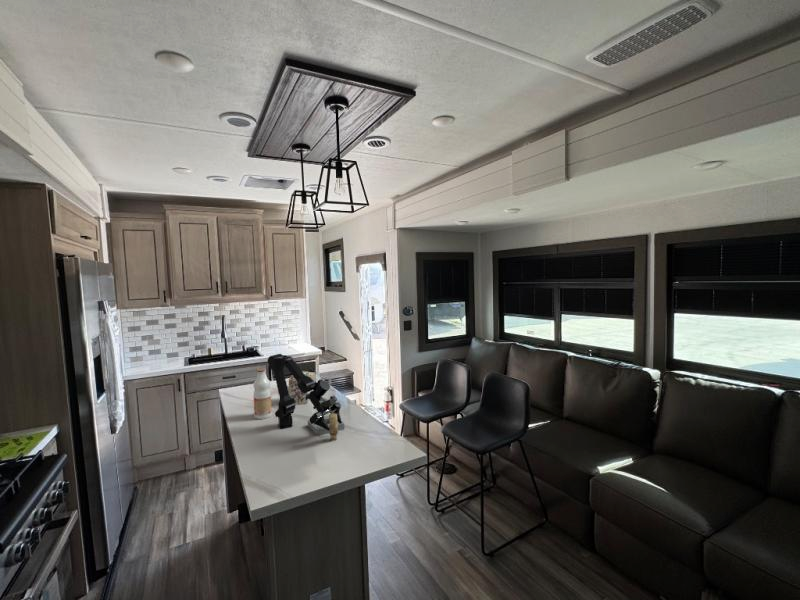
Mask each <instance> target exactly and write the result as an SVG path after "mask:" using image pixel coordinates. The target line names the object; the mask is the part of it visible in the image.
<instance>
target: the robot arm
mask: <svg viewBox="0 0 800 600" xmlns="http://www.w3.org/2000/svg"><path fill="white" fill-rule="evenodd" d="M267 364H268V367H269V369H270V370H271V371H272V372H273V374H274V379H275V382H276V388H277V392H278V397H279V398H278V399H279V400H278V402H277V406H278V407H277V409H276V411H275V412H274V415H275V418H278V424H277V426H278V428H279V429H280V430H283V429H287V428H291V427H293V426H294V425H293V423H294V422H293V416H292V415H293V414H294V412H295V409H296V406H297V405H296V404H295V401H294V398H291V397H290V396H289V387H288V384H287V380H286V377H285V372H284V368H286V369H287V370H288V372H289V373H290V375H291V376H292V375H293V377H294V378H295V379H296V381H297V385H298V387H299V389H300V391H301V392H302V393H307V392H308V394H306V400H308V401H310V403H311V404H312V405H313V407H312V409H313V410H316V411H317V412H314V413H313V414H312V415H311V416H310V417H309V420H310V423H311V424H313V423H314V425H315V424H316V425H318V426H320V427H322V428H324V429H326V430H328V431H329V430H330V428H329V426H328V425H327V423H326V422H325V420H324V417H325V416H327V414H328V415H329V414H332V413H335V414H337V421H338V422H339V423H340V424H341V423H342V422H343V421H342V418H341V415H340V413H341V412H340V409H341V407H342V404H341V403H340V402H337V401H338V399H337V397H336V396H335V395H331V396H329V399H327V398H323V397H324V395H325V394H326V393H327V392H328V391H329V390H330V387H331V384H330V383H329V382H328V381H326V380H323V379H322V378H321V379H318V380H317V381H316V382H314V381H313V380H312V379H311V378H310V377H308V376H306V375H305V374H304V373H303V372H302V371H303V370H302V369H301V368H300V366H298V364H297V363H296V362H295V360H294V359H293V356H291V355H286V354H282V353H277V354H273V355H270V356H269V357H268V358H267Z"/></svg>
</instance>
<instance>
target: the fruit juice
mask: <svg viewBox="0 0 800 600" xmlns="http://www.w3.org/2000/svg"><path fill="white" fill-rule="evenodd" d="M266 371H267V369H266V368H265V367H263V368H257V369H256V373H257V374H256V378H255V380H254V382H253V389H254V390H253V391H254V392H253V412H254V414H253V415H254V418H255V419H256V418H257V419H256V420H265V419H264V418H266V419H268V417H269V418H270V417H271V416H272V415H273V414H272V411H273V410H272V392H271V389H270V388H271V387H270V386H271V381H270V380H269V378H268V376H267V373H266Z"/></svg>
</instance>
